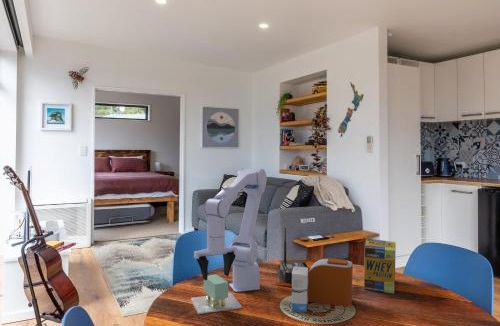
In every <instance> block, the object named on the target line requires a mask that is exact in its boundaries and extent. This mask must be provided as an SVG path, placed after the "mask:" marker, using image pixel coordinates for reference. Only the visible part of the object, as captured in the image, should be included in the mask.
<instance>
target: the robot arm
mask: <svg viewBox="0 0 500 326" xmlns="http://www.w3.org/2000/svg"><path fill="white" fill-rule="evenodd" d="M267 181H268V177H267V173H266V171H265V169H264V168H257V169H256V168H240V169H239V170H238V171H237V174H236V178H235V179H234V181H233V182H232V183H231V184H230V185H225V186H223V187H222V189H221V190H220V191H219V192H217V194H216V195H215V196H214V197H213V198H208V199H207V200H206V201H205V202H204V206H203V207H202V211H203V214H204V216H205V221H206V225H207V226H206V229H207V230H206V237H207V238H206V248H204V249H203V248H202V249H200V250H195V251H193V258H194V259H195V260H196V262H197V263H198V265H199V269H200V272H201V277H202V279H203V281H204V280H207V278H208V276H209V275H208V267H209V263H210V260H209V259H208V258H207V257H215V256H219V255H220V256H222V257H223V260H222V261H223V275H224V276H226V277H229V276H230V271H231V268H232V282H231V283H228V286H229V287H230V288H231V289H232V290H233V291H234V292H235V293H238V292H239V293H240V292H246V291H247V292H249V291H256V290H260V289H261V286H260V267H259V266H260V265H259V264H258V263H257V262H256V261H257V259H258V254H259V253H258V249H259V244H258V243H257V242H256V240H255V239H254V232H255V228H256V223H257V218H258V214H259V209H260V203H261V199H262V195H263V193H265V190H266V187H267V186H266V184H267ZM241 190H243V192H244V193H246V194H247V196H246V201H245V207H244V211H243V215H242V220H241V225H240V230H239V233H238V234H239V235H237V236H235V237H234V238H233V239H232V240H231V243H230V245H229V246H226V244H225V243H226V241H225V240H226V222H225V221H226V217H227V216H228V214H229V209H230V208H231V205H232V204H233V203H234V202H235V201H236V200H237V199H238V193H239V192H241Z"/></svg>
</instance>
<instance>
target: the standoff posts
mask: <svg viewBox="0 0 500 326" xmlns="http://www.w3.org/2000/svg"><path fill="white" fill-rule="evenodd" d="M206 296H207V299H210V296H209V295H208V294H206ZM221 306H225V298H224V299H221ZM212 307H216V300H214V299H212Z"/></svg>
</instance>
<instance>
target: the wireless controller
mask: <svg viewBox="0 0 500 326" xmlns="http://www.w3.org/2000/svg"><path fill="white" fill-rule="evenodd" d="M279 266H280V267H279V269H276V274H277V276H278V280H279V283H292V271H293V268H294V267H295V266H296V267H306V268H308V272H309V270H310V268H309V266H308V264H307V262H306V261H305V260H287V227H285V228H284V240H283V260H279Z"/></svg>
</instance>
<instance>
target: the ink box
mask: <svg viewBox="0 0 500 326" xmlns="http://www.w3.org/2000/svg"><path fill="white" fill-rule="evenodd" d="M308 304H309V302H308V268H306V267H296V266H295V267H294V268H293V271H292V282H291V311H292V312H295V313H296V312H298V313H308Z"/></svg>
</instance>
